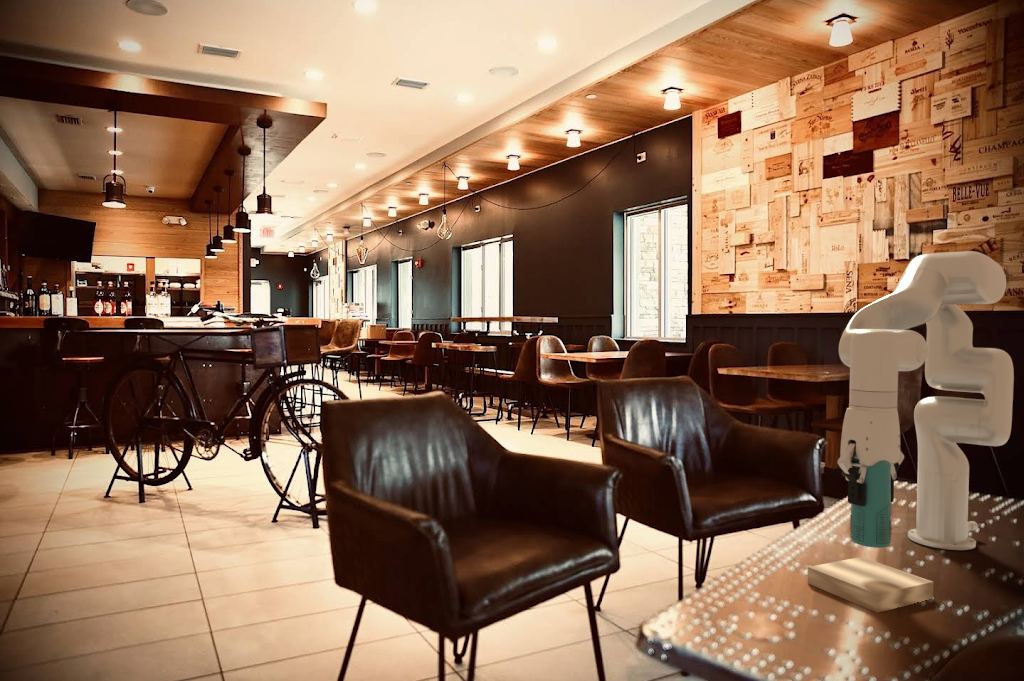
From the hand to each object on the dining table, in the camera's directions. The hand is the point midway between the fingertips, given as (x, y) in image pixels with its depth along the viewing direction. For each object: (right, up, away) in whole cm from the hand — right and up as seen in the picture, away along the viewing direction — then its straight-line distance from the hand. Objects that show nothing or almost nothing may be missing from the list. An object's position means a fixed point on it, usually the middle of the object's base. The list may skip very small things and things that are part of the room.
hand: (870, 501), depth 122 cm
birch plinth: (0, -16, 0) cm, 16 cm away
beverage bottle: (0, -9, 0) cm, 9 cm away
